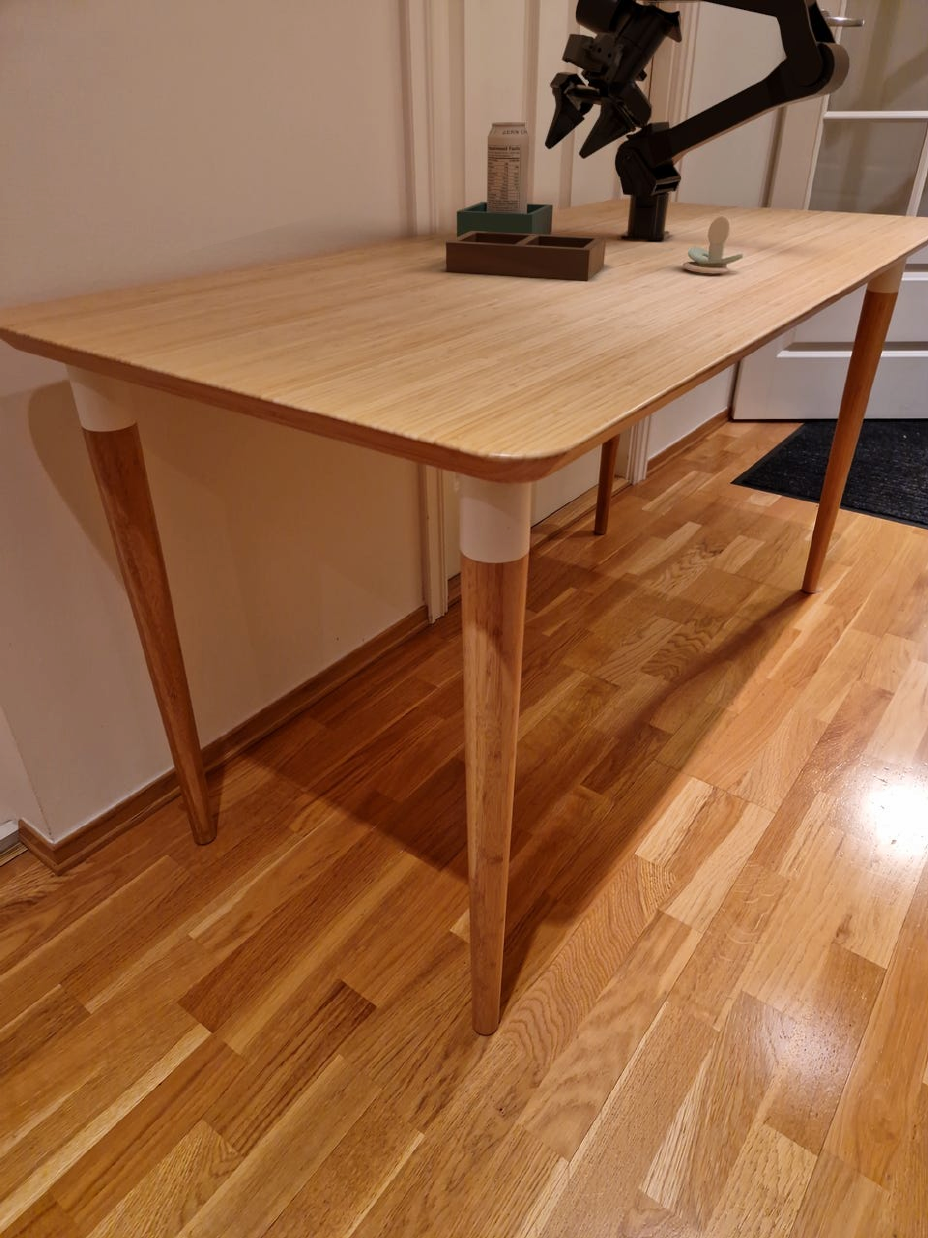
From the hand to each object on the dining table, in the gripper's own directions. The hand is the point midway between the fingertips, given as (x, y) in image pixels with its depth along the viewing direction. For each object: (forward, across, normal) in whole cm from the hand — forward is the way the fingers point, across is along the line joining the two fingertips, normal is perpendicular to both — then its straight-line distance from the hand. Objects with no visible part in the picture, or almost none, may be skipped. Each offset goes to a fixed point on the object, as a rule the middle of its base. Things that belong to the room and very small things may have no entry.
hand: (563, 151), depth 122 cm
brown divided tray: (+18, +18, -6) cm, 26 cm away
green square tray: (+14, -3, +2) cm, 14 cm away
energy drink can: (+14, -3, +2) cm, 14 cm away
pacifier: (+5, +30, +9) cm, 32 cm away
